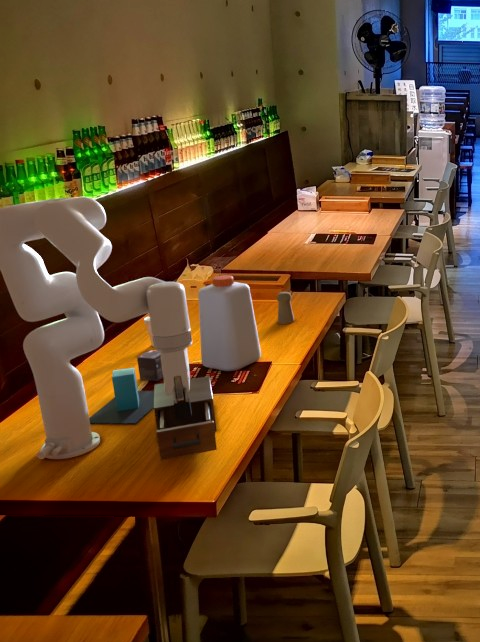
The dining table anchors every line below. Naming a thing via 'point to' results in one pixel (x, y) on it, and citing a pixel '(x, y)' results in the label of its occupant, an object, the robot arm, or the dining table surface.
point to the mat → (124, 411)
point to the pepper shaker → (284, 308)
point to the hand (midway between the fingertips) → (184, 416)
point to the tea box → (125, 389)
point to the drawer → (185, 433)
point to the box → (150, 366)
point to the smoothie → (149, 329)
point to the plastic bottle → (227, 325)
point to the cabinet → (196, 394)
